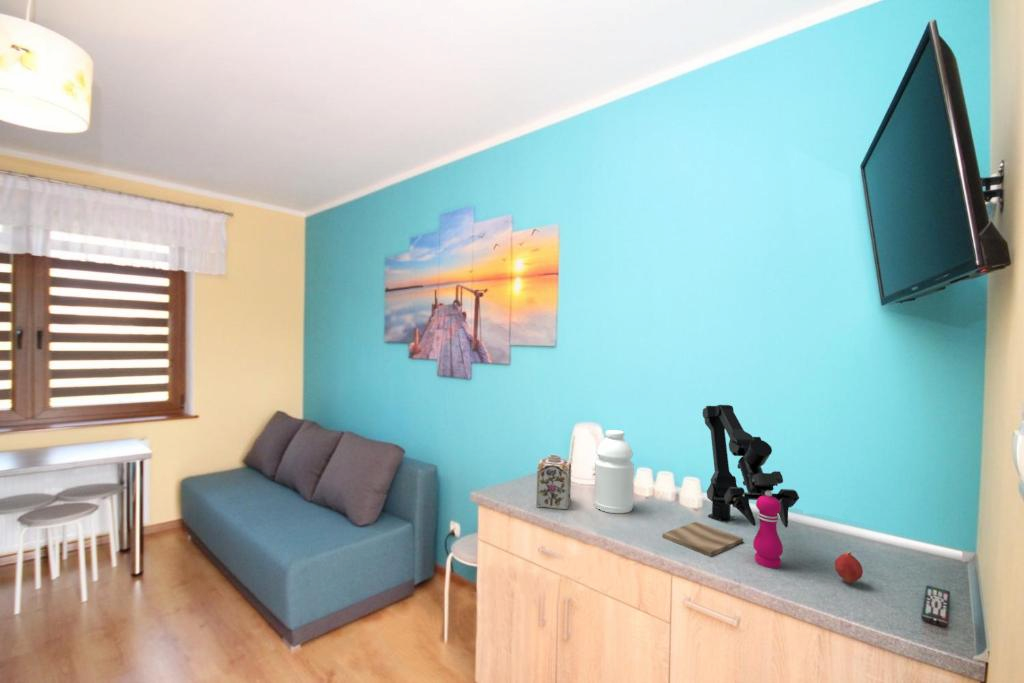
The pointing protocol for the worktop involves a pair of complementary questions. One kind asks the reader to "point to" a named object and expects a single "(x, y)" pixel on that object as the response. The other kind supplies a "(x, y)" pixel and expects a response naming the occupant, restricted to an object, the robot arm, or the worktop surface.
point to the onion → (848, 567)
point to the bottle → (614, 474)
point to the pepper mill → (768, 532)
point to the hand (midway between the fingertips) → (770, 526)
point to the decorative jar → (553, 482)
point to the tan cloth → (702, 538)
